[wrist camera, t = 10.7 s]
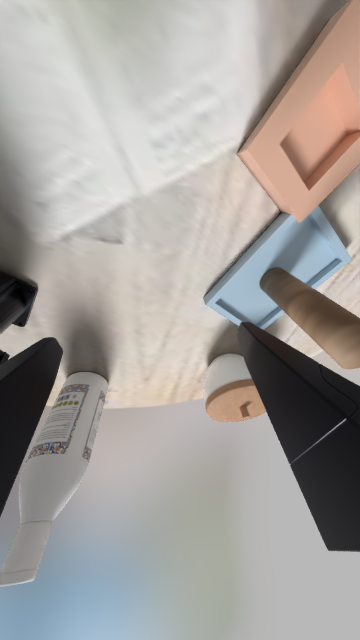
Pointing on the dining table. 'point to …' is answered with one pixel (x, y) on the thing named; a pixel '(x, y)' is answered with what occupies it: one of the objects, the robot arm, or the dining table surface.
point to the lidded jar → (231, 390)
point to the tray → (278, 251)
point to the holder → (312, 122)
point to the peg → (316, 316)
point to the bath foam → (54, 471)
